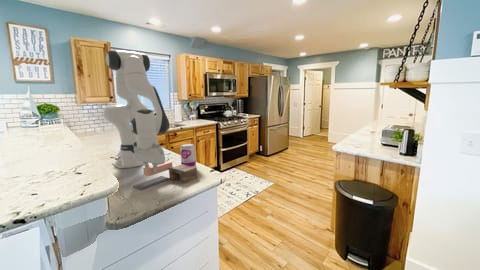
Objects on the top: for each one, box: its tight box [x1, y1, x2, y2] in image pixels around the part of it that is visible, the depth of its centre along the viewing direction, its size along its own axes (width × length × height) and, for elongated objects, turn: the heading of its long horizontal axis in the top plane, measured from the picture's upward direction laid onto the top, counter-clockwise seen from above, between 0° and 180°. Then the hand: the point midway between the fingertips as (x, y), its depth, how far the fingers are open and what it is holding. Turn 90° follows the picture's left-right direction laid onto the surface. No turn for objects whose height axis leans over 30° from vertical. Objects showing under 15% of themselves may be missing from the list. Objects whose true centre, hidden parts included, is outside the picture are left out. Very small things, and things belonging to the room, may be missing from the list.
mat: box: [132, 175, 170, 191], centre depth 107 cm, size 7×16×1 cm, turn 145°
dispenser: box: [168, 164, 198, 184], centre depth 112 cm, size 11×9×6 cm
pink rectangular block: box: [142, 160, 173, 177], centre depth 109 cm, size 4×14×4 cm, turn 145°
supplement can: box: [179, 143, 197, 167], centre depth 125 cm, size 8×8×15 cm
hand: (151, 170), depth 106 cm, fingers closed on pink rectangular block, 4 cm apart
